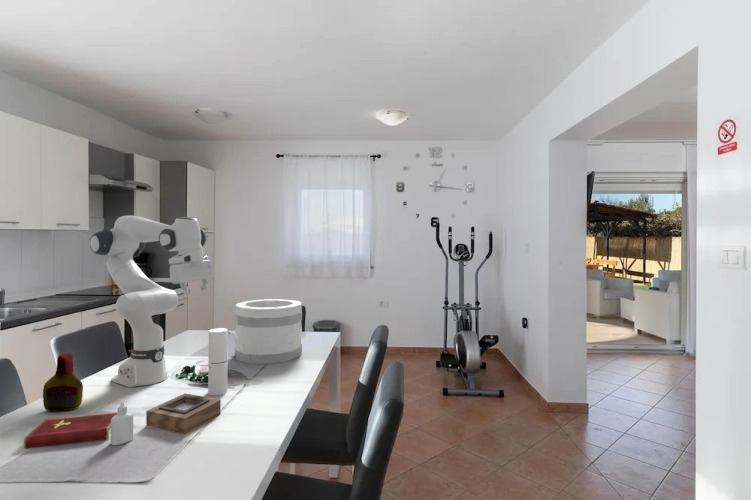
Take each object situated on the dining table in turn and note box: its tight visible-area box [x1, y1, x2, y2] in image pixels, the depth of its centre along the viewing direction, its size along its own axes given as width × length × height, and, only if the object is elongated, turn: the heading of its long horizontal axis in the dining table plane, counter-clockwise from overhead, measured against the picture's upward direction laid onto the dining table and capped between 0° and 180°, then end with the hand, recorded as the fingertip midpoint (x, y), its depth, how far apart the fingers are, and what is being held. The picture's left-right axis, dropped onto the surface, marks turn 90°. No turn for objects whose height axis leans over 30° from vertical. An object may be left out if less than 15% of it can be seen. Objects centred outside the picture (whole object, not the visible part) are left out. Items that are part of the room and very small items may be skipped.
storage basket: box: [234, 298, 303, 365], centre depth 212 cm, size 35×35×27 cm
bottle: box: [42, 352, 84, 412], centre depth 140 cm, size 12×6×20 cm, turn 97°
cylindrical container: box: [207, 327, 229, 396], centre depth 158 cm, size 7×7×25 cm
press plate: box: [173, 402, 197, 411], centre depth 134 cm, size 8×8×1 cm
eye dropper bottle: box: [110, 401, 134, 446], centre depth 118 cm, size 4×6×12 cm
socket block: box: [145, 392, 222, 435], centre depth 134 cm, size 16×16×6 cm
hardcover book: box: [23, 412, 118, 450], centre depth 122 cm, size 12×21×4 cm, turn 107°
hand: (195, 292), depth 156 cm, fingers open, 8 cm apart
